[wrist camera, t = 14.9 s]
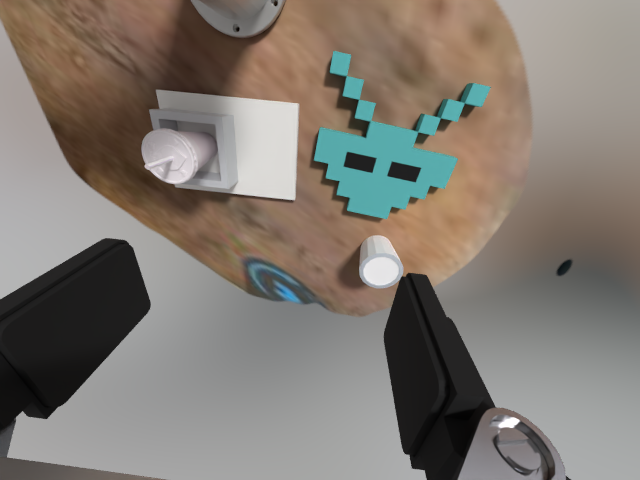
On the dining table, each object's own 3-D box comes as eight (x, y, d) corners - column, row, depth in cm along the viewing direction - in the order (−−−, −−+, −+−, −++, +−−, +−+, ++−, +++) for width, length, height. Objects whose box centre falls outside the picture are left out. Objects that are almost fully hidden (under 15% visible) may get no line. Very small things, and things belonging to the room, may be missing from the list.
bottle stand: (160, 89, 36) (135, 88, 32) (299, 103, 36) (293, 104, 31) (178, 185, 43) (160, 195, 39) (295, 198, 43) (290, 209, 38)
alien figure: (334, 53, 33) (308, 197, 43) (333, 50, 31) (306, 202, 41) (482, 87, 34) (423, 221, 43) (490, 87, 32) (426, 227, 42)
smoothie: (230, 166, 40) (180, 196, 28) (191, 166, 40) (125, 196, 28) (221, 121, 37) (161, 132, 25) (179, 122, 37) (99, 134, 25)
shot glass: (391, 227, 44) (399, 248, 38) (398, 260, 47) (406, 284, 41) (352, 237, 45) (354, 258, 39) (361, 267, 48) (364, 292, 42)
